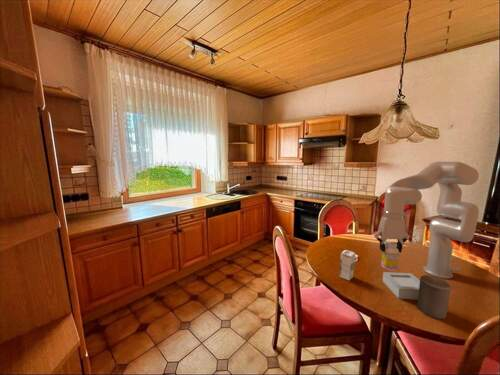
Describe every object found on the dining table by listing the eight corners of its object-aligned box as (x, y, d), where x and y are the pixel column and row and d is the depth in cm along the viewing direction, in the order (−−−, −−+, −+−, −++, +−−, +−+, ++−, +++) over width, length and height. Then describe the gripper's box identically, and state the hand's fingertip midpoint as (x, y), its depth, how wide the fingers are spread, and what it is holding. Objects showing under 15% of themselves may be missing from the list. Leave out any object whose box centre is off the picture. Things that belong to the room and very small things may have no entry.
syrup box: (343, 272, 118) (344, 249, 116) (353, 277, 114) (355, 252, 112) (338, 277, 114) (340, 252, 112) (350, 281, 110) (351, 256, 108)
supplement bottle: (382, 262, 105) (383, 238, 103) (398, 266, 101) (400, 241, 99) (380, 268, 100) (381, 243, 98) (396, 272, 96) (399, 246, 94)
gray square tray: (410, 282, 109) (411, 273, 108) (430, 300, 95) (431, 290, 94) (382, 280, 110) (383, 272, 110) (398, 298, 97) (399, 288, 96)
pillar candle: (412, 308, 90) (416, 276, 88) (422, 300, 95) (426, 270, 93) (441, 323, 82) (446, 288, 80) (450, 313, 87) (455, 280, 85)
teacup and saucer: (356, 256, 139) (356, 250, 138) (361, 262, 131) (361, 256, 130) (342, 255, 140) (343, 250, 139) (347, 261, 132) (347, 255, 131)
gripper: (408, 213, 99) (404, 248, 102) (370, 213, 101) (367, 247, 104) (418, 217, 92) (415, 255, 95) (377, 217, 94) (375, 254, 97)
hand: (390, 250), depth 99 cm, fingers closed on supplement bottle, 6 cm apart
